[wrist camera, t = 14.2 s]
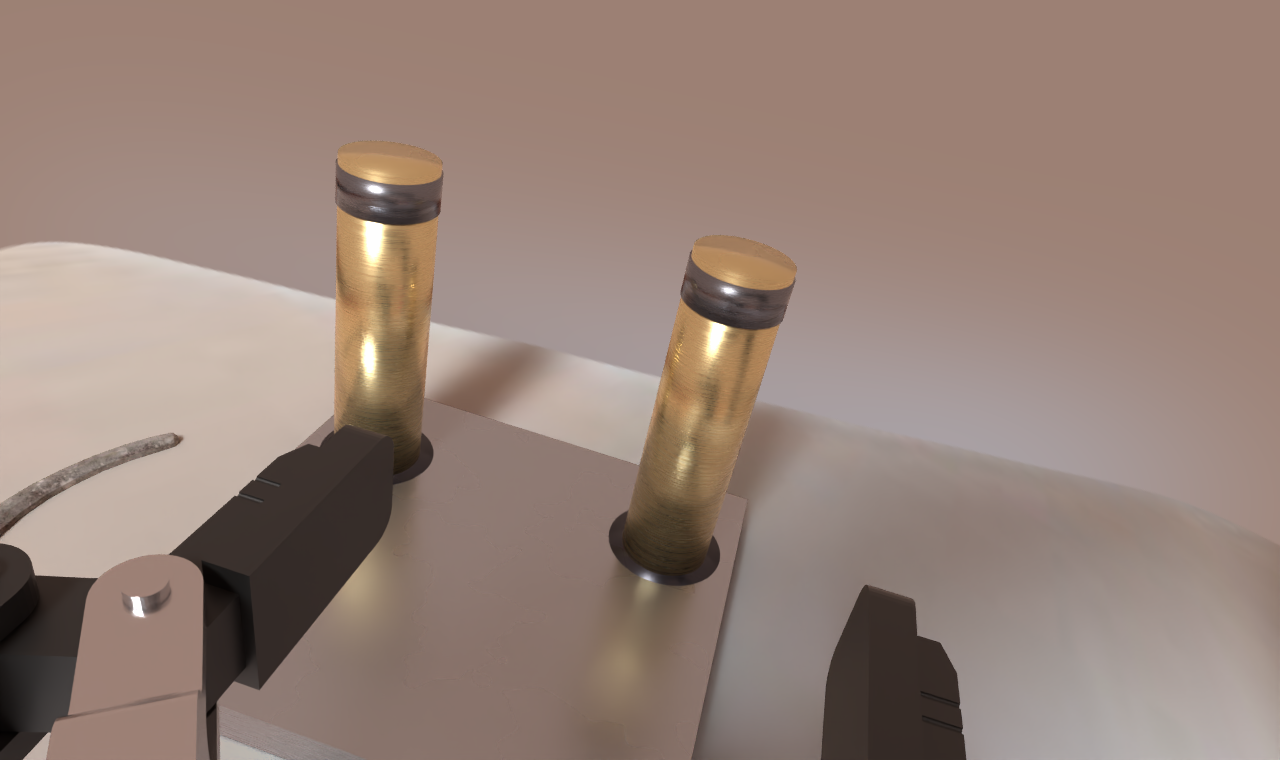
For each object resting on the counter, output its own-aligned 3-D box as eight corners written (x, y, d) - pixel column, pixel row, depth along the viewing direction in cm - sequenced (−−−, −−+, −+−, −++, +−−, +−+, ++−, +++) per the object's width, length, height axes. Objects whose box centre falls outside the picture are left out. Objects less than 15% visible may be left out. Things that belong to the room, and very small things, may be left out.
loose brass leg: (714, 530, 30) (802, 253, 25) (698, 588, 28) (794, 291, 22) (633, 505, 31) (702, 226, 25) (610, 559, 28) (682, 260, 22)
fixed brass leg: (435, 441, 32) (461, 158, 26) (395, 487, 29) (414, 183, 23) (360, 418, 32) (370, 133, 26) (314, 461, 29) (314, 155, 24)
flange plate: (739, 522, 33) (747, 499, 32) (656, 897, 20) (667, 870, 19) (370, 405, 35) (371, 381, 34) (76, 680, 22) (69, 649, 21)
